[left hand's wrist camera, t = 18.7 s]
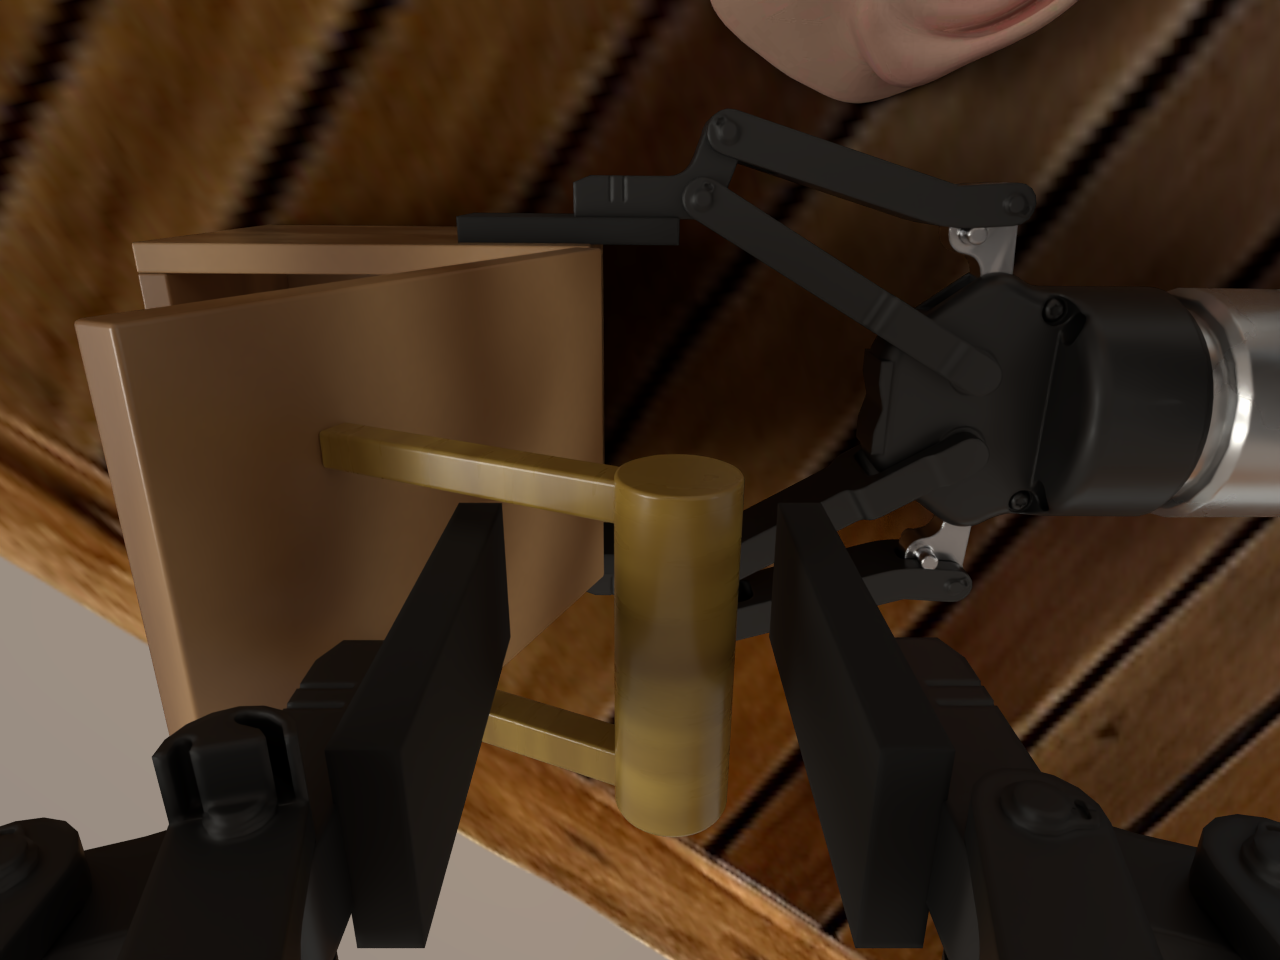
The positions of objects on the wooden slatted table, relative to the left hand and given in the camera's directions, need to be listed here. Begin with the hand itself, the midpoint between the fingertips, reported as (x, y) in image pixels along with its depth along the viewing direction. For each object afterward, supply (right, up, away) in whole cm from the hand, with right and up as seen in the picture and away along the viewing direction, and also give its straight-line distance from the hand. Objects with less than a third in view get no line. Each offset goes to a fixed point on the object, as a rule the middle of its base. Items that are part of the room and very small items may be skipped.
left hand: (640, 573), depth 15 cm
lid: (-5, +1, +4) cm, 6 cm away
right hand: (-5, +4, +12) cm, 14 cm away
